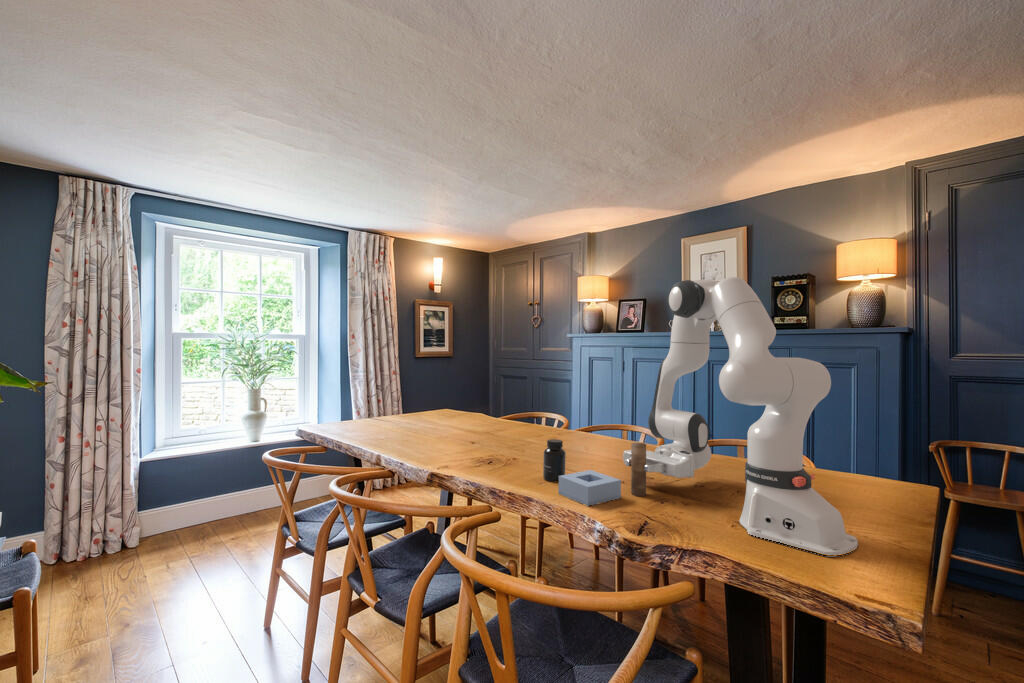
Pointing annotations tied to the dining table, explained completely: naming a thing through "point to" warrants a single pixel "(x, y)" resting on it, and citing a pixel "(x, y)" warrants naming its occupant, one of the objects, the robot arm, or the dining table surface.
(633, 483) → the dowel
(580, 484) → the socket block
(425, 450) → the dining table surface
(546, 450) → the supplement bottle
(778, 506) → the robot arm
